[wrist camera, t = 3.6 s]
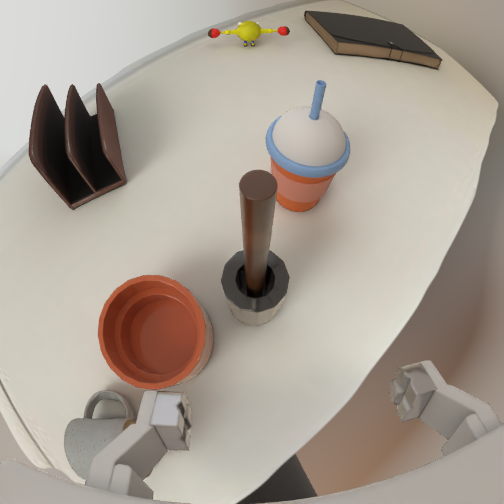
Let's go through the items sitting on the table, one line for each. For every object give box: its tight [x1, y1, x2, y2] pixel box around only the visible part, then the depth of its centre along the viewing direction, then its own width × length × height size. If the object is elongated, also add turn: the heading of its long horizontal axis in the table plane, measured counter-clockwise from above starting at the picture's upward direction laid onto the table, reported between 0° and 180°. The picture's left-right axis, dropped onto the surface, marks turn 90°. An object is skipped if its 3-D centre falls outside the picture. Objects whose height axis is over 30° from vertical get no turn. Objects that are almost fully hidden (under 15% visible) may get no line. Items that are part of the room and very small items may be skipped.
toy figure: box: [208, 21, 290, 47], centre depth 51 cm, size 18×6×7 cm, turn 94°
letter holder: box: [29, 83, 126, 210], centre depth 35 cm, size 10×20×14 cm, turn 24°
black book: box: [304, 11, 442, 69], centre depth 57 cm, size 33×4×24 cm
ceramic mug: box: [64, 391, 153, 480], centre depth 23 cm, size 11×8×8 cm
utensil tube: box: [221, 250, 289, 326], centre depth 29 cm, size 6×6×9 cm
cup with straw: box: [266, 80, 350, 212], centre depth 30 cm, size 9×9×18 cm
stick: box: [239, 170, 278, 298], centre depth 22 cm, size 2×2×22 cm
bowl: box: [98, 275, 213, 390], centre depth 29 cm, size 11×11×6 cm
